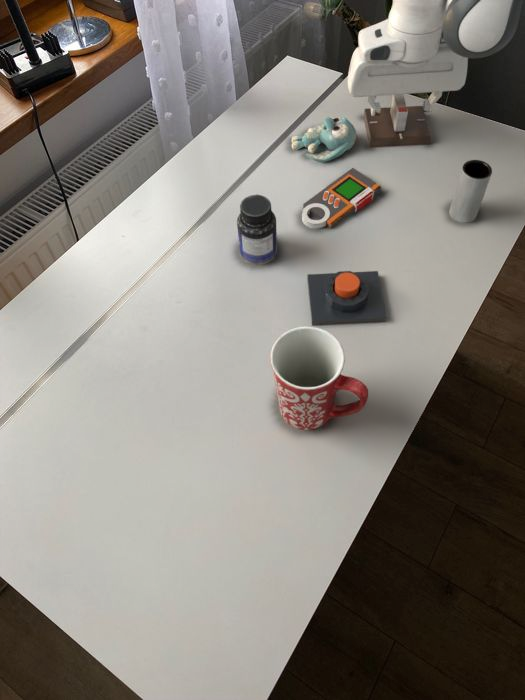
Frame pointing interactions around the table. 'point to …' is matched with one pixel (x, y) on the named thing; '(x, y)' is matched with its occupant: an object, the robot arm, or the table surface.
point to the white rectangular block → (398, 112)
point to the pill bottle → (257, 230)
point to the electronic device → (340, 200)
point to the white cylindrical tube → (470, 190)
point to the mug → (312, 378)
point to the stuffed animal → (327, 138)
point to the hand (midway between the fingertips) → (400, 112)
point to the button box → (345, 300)
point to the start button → (347, 285)
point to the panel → (385, 136)
